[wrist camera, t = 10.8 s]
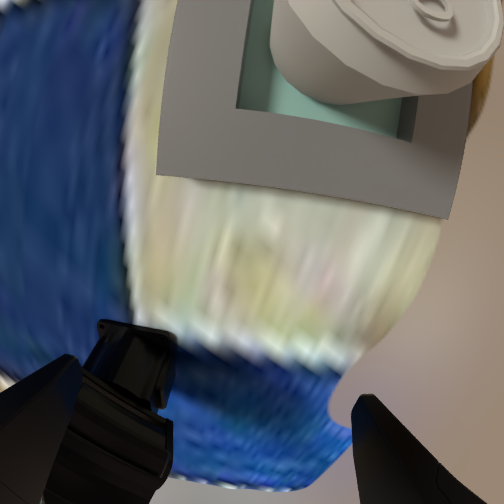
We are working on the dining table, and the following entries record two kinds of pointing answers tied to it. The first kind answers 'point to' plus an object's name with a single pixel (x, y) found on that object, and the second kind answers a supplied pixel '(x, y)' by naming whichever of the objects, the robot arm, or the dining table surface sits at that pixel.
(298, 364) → the dining table surface
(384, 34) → the can
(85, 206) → the dining table surface
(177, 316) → the dining table surface
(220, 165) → the pocket frame
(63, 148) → the dining table surface
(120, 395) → the robot arm
